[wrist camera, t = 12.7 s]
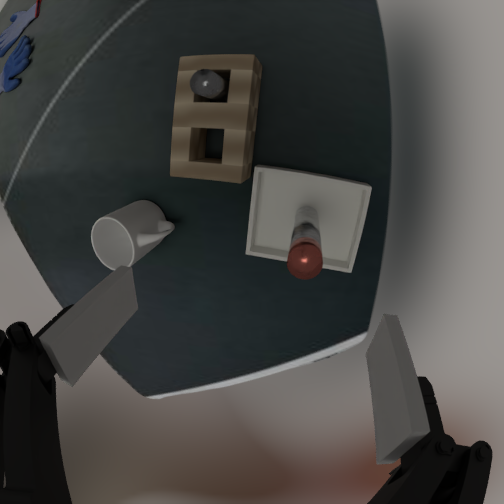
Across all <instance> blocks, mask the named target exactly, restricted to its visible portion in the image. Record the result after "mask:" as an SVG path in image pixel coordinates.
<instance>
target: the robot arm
mask: <svg viewBox="0 0 504 504" xmlns="http://www.w3.org/2000/svg"><path fill="white" fill-rule="evenodd" d="M137 309H138V305H137V299H136V293H135V286H134V280H133V273H132V268H131V267H126V266H122V265H121V266H119V267H118V268H117V269H116V270H114V271H113V272H112V273H111V274H110V275H108V276H107V277H106V278H105V279H104V280H102V281H101V282H100V283H99V284H98V285H96V286H95V287H94V288H93V289H92V290H91V291H89V292H88V293H87V294H86V295H85V296H84V297H83V298H81V299H80V300H79V301H78V302H77V303H76V304H75V305H73V304H72V305H70V306H68V307H66V308H64V309H63V310H62V311H60V312H59V313H58V314H57V316H55V317H54V318H53V319H52V321H49V322H48V323H47V324H46V325H45V326H44V327H43V328H42V329H41V330H40V331H39V332H38V333H37V334H36V335H34V336H32V334H31V332H30V329H29V327H28V325H27V324H26V323H25V322H16V323H14V324H12V325H10V326H9V327H8V328H7V330H6V334H5V332H4V331H2V330H0V367H1V369H2V371H3V373H2V375H0V504H72V501H71V498H70V493H69V489H68V485H67V481H66V476H65V471H64V466H63V461H62V455H61V448H60V441H59V433H58V421H57V408H56V381H55V377H54V375H55V374H56V373H57V374H58V375H59V377H60V379H61V380H62V381H63V382H65V383H66V384H68V385H70V386H71V387H73V386H74V384H75V383H76V382H77V380H78V379H79V378H80V377H81V376H82V374H83V373H84V372H85V370H86V369H87V368H88V367H89V366H90V365H91V363H92V362H93V361H94V360H95V358H96V357H97V356H98V355H99V354H100V352H101V351H102V350H103V349H104V348H105V346H106V345H107V344H108V343H109V342H110V341H111V339H112V338H113V337H114V336H115V335H116V333H117V332H118V331H119V330H120V329H121V328H122V326H123V325H124V324H125V323H126V322H127V321H128V320H129V318H130V317H131V316H132V315H133V314H134V313H135V312H136V310H137ZM6 335H7V336H6ZM7 337H8V338H7ZM366 358H367V365H368V372H369V379H370V387H371V395H372V405H373V414H374V425H375V440H376V458H377V459H376V460H377V464H389V463H394V462H395V461H397V460H398V459H399V458H401V465H399V466H398V467H397V468H395V469H394V470H393V471H391V472H390V473H389V474H390V475H391V474H392V475H391V477H390V478H389V479H388V480H387V482H386V483H385V484H384V485H383V486H382V488H381V489H380V490H379V491H378V492H377V494H376V495H375V496H374V497H373V498H372V499H371V500H370V501H369V502H368V503H367V504H483V501H484V498H485V493H486V489H487V484H488V480H489V474H490V468H491V462H492V449H491V447H490V445H489V444H488V443H487V442H485V441H478V442H476V443H474V444H473V445H472V446H471V447H468V446H462V445H457V444H456V443H455V442H454V439H453V438H452V437H451V436H449V435H447V434H445V433H444V430H443V425H442V421H441V417H440V413H439V409H438V406H437V404H436V403H437V401H436V398H435V397H434V395H435V394H434V391H433V388H432V385H431V383H430V382H429V381H428V379H427V378H426V377H417V375H416V372H415V368H414V365H413V361H412V358H411V355H410V352H409V348H408V345H407V342H406V339H405V336H404V334H403V331H402V328H401V325H400V322H399V319H398V317H397V316H396V315H388V314H384V315H383V317H382V319H381V322H380V324H379V326H378V329H377V331H376V333H375V335H374V338H373V340H372V342H371V344H370V346H369V348H368V350H367V352H366ZM4 472H5V477H6V487H5V488H3V484H4Z"/></svg>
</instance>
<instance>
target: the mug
mask: <svg viewBox="0 0 504 504" xmlns="http://www.w3.org/2000/svg"><path fill="white" fill-rule="evenodd" d="M174 228H175V226H174V224H173V223H171V222H169V221H166V219H165V216H164V214H163V212H162V210H161V209H160V208H159V207H158V206H157V205H156V204H154V203H153V202H151V201H147V200H140V201H136V202H134V203H131V204H129V205H127V206H125V207H123V208H120V209H118V210H116V211H114V212H112V213H110V214H108V215H106V216H104V217H102V218H100V219H98V220H97V221H96V222H95V224H94V226H93V228H92V232H91V240H92V245H93V249H94V251H95V253H96V255H97V257H98V258H99V259H100V261H101V262H102V263H103V264H104V265H105V266H107V267H108V268H110V269H112V270H116V269H117V268H118V267H119V266H121V265H122V266H126V267H131V266H132V265H133V264H134V263H135V262H137V261H138V260H139V259H140V258H142V257H143V256H144V255H145V254H147V253H148V252H149V251H150V250H152V249H153V248H154V247H156V246H157V245H158V244H159V243H160V242H161V241H162V240H163V238H164V237H165V236H167V235H168V234H169V233H171V232H172V231H173V230H174ZM169 229H170V230H169ZM166 230H168V231H166Z"/></svg>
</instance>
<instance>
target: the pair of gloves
mask: <svg viewBox="0 0 504 504" xmlns="http://www.w3.org/2000/svg"><path fill="white" fill-rule="evenodd" d="M41 1H42V0H37V1H36V3H35V4H34V5H33V6H32V7H31V8H30V9H29V10H28V11H27V12H26V11H19V12H16V13H14V14H13V15H12V16H11V18H10V21H11V22H13V23H12V24H11V26H10V27H8V28H7V29H5V30H4V31H3V33H2V34H1V36H0V57H3V56H4V54H5V53H6V52H7V51H8V49H9V48H11V46H12V45H13V44H14V43H15V42H16V41H17V39H18V38H19V37H20V35H21V34H22V32H23V30H24V28H26V27H27V26H28V25H29V23H30V21H31V20H33V19H34V18H36V17H38V16H39V10H40V4H41ZM31 50H32V47H31V45H30V38H27V36H26V35H24V36H23V37H22V38H21V39H20V42H19V44H18V46H17V47H16V48H15V50H14V51H13V52H12V54H11V55H10V56H9V58H8V60H7V62H6V64H5V66H4V69H3V72H2V73H1V75H0V93H1V92H2V91H4V92H9V91H11V90H13V89H14V88H16V87H17V86H18V85H19V84H20V80H19V79H18V78H17V79H13V80H10V79H11V78H12V77H13V76H15V75H17V74H19V73H21V72H22V71H23V70H24V69H25V68H26V67H27V66H28V64H29V59H28V58H29V56H30V53H31Z"/></svg>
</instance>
